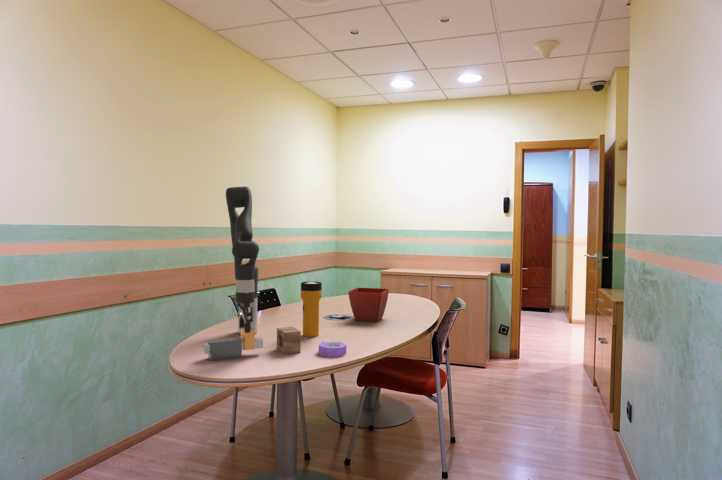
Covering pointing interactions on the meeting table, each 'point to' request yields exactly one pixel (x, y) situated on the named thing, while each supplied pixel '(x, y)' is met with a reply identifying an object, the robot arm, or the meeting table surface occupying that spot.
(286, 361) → the meeting table surface
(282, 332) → the socket block
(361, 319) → the plant pot
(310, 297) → the flashlight
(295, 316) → the meeting table surface
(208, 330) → the meeting table surface
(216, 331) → the meeting table surface
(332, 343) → the masking tape
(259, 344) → the slip tube
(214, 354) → the sleeve
